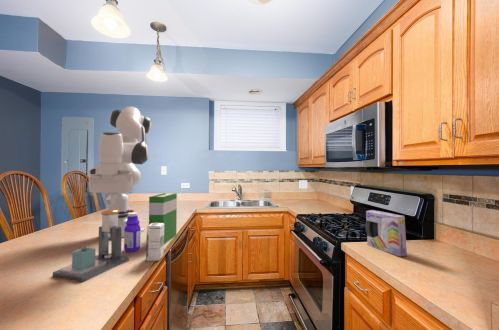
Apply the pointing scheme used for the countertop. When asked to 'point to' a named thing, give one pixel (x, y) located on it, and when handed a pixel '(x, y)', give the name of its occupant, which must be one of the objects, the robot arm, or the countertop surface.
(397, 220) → the cake pan box
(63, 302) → the countertop surface
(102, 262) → the base
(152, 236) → the syrup box
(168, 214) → the green striped box
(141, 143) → the robot arm
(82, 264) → the block
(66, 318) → the countertop surface
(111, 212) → the press ram
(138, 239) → the bottle
